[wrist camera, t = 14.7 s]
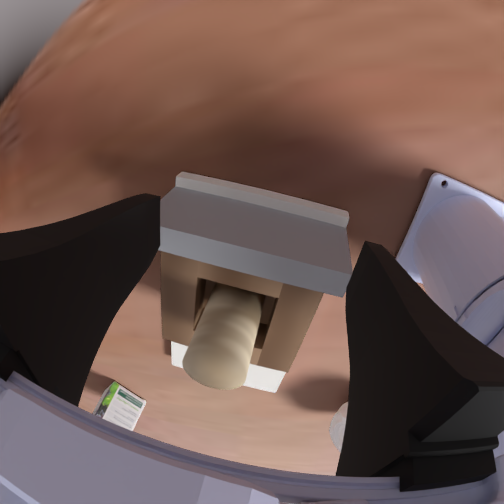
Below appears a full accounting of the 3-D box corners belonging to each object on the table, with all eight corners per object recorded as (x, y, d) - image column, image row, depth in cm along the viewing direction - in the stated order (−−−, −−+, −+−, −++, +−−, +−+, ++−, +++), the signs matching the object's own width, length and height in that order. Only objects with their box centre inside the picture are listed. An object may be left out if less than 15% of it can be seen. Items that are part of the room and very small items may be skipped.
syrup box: (147, 401, 40) (111, 484, 28) (134, 408, 43) (100, 483, 31) (114, 379, 38) (71, 462, 26) (104, 389, 41) (65, 463, 29)
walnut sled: (327, 249, 20) (328, 282, 17) (292, 338, 25) (287, 372, 22) (182, 213, 21) (160, 239, 18) (178, 308, 26) (162, 338, 23)
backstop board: (348, 211, 19) (357, 263, 14) (276, 385, 31) (268, 434, 26) (181, 171, 20) (138, 209, 15) (174, 357, 32) (154, 402, 27)
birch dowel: (270, 278, 21) (251, 362, 15) (260, 316, 23) (240, 395, 17) (218, 265, 21) (182, 342, 15) (213, 303, 23) (182, 379, 17)
